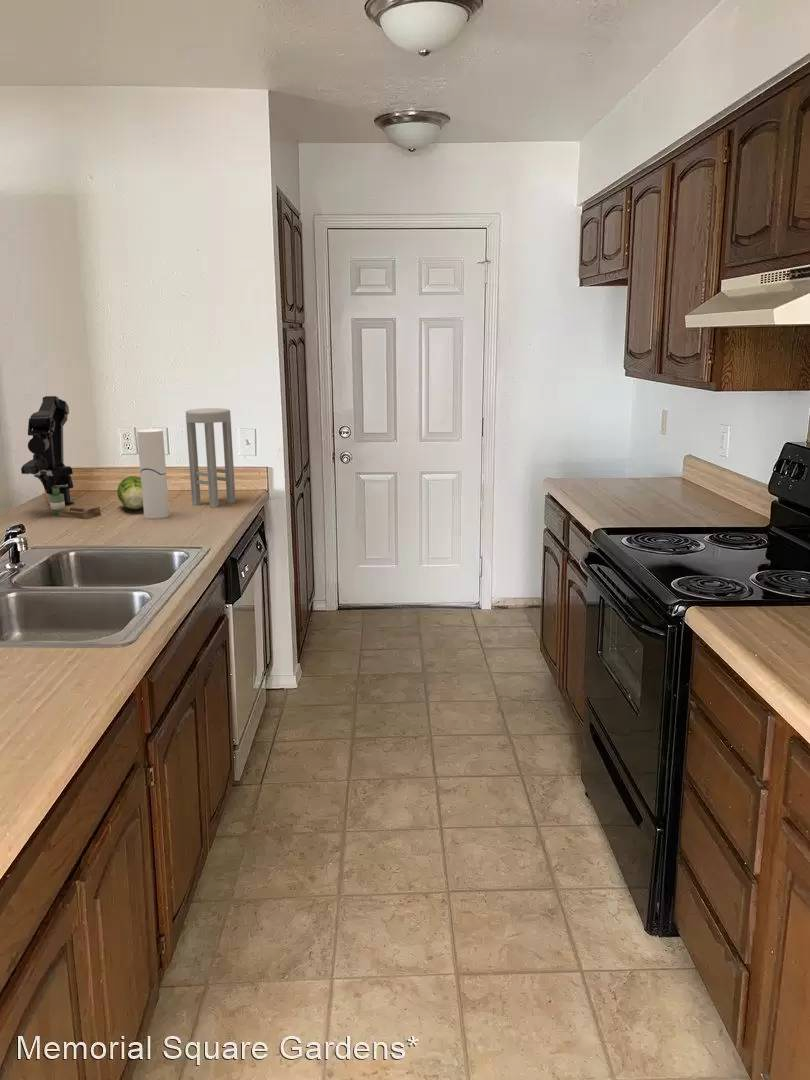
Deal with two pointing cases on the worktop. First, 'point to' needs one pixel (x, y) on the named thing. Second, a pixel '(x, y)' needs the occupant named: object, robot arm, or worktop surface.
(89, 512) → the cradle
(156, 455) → the container
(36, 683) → the worktop surface
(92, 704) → the worktop surface
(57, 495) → the bottle
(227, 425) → the stool
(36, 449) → the robot arm
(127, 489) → the lettuce
